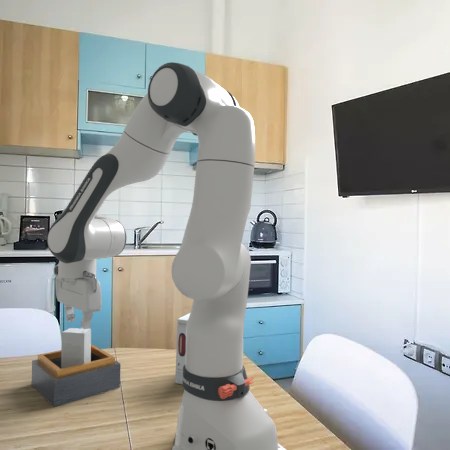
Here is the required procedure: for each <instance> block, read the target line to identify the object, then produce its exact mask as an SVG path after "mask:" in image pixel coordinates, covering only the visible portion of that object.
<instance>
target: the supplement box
mask: <svg viewBox="0 0 450 450" xmlns="http://www.w3.org/2000/svg"><path fill="white" fill-rule="evenodd" d="M190 313H191V312H188V313H187V314H185V315H183V316H181V317H179V318H177V322H176V323H177V325H176V328H177V329H176V348H175V349H176V350H175V351H176V352H175V354H176V355H175V381H174V384H178V385H179V384H180V385H182V373H183V366H184V365H185V357H186V325H187V321H188V319H189V316H190Z"/></svg>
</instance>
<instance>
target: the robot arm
mask: <svg viewBox="0 0 450 450" xmlns="http://www.w3.org/2000/svg"><path fill="white" fill-rule="evenodd" d="M186 132H190V133H192V135H194V136H196V137H197V140H198V148H197V157H196V158H197V159H196V168H195V178H194V185H193V187H194V188H193V197H192V203H191V209H190V212H189V216H188V220H187V223H186V227H185V231H184V234H183V237H182V241H181V245H180V248H179V249H178V251H177V253H176V255H175V256H174V258H173V260H172V265H171V278H172V282H173V283H174V285H175V287H176V289H177V290H178V291H179V292H180V293H181V294H182V295H183V296H185V297H186V298H189V299H190V300H193V301H192V306H191V310H190V312H189V313H190V316H189V319H188V321H187V325H186V357H185V365H184V366H183V373H182V384H181V385H182V388H183V393H182V398H181V402H180V405H179V409H178V415H177V425H176V430H175V431H176V432H175V433H176V434H175V438H174V444H173V446H172V447H171V450H287V448H285V447H284V446H282V444H280V443H279V441H278V431H277V426H276V424H275V421H274V420H273V419H272V417H270V415H269V412H268V410H267V409H266V408H264V407H263V406H262V405H261V404H260V403H259V401H258V400H257V398H256V397H255V396H254V394H253V393H252V392H251V390H250V389H251V388H250V385H252V384H254V381H252V380H254V376H252V377H248V375H247V371H246V368H245V366H244V362H243V361H244V332H245V331H244V330H245V318H246V310H247V305H248V296H249V288H250V287H249V285H250V275H251V265H252V258H251V254H250V252H249V250H248V248H247V247H246V246H245V245H244V244H243V243H242V242H243V237H244V233H245V228H246V225H247V224H246V223H247V220H248V217H249V213H250V210H251V208H252V207H251V206H252V205H251V204H252V203H251V202H252V196H253V186H254V185H253V184H254V173H255V164H256V134H255V132H256V131H255V125H254V120H253V117H252V115H251V114H250V112H248V111H247V110H245V109H244V108H242V107H240V105H239V102H238V101H237V99H236V98H235V97H234V95H233V94H231V92H229V91H228V90H226V89H224V88H223V87H221V85H219V84H218V83H216V82H215V81H214V80H213V79H212V78H211V77H208V76H207V75H205V74H203V73H201V72H199V71H196V70H194V69H193V68H192V67H190V66H189V65H186V64H183V63H179V62H166V63H163V64H162V65H160V66H159V67H158V68H157V69H156V70H155V72H154V73H153V74H152V76H151V78H150V80H149V83H148V88H147V93H146V94H145V95H144V96H143V97H142V99H140V102H139V103H138V104H137V106H136V107H135V108H134V110H133V112H132V114H131V116H130V117H129V119H128V121H127V123H126V125H125V127H124V129H123V132H122V134H121V135H120V137H119V139H117V142H116V143H115V144H114V145H113V147H112V148H111V149H110V150H108V152H106V154H104V155H101V156H100V157H99V158H98V159H97V160H96V161H95V162H94V163H93V164H92V166H91V168H90V169H89V171H88V172H87V173H86V175H85V176H84V179H83V180H82V182H81V183H80V184H79V187H77V190H76V192H75V193H74V195H73V196H72V198H71V199H70V201H69V202H68V204H67V206H66V208H64V209H63V210H62V213H61V214H60V215H59V216H58V218H57V219H55V221H54V222H53V223H52V225H51V226H50V228H49V230H48V232H47V236H46V245H47V247H48V250H49V251H50V253H51V254H52V255H53V257H55V258H56V259H57V260H58V264H56V265H55V266H54V267H53V275H54V276H55V279H54V280H55V281H54V282H55V296H56V299H57V302H59V303H61V304H63V307H64V308H63V309H64V313H65V320H66V322H68V323H72V322H75V321H76V314H75V313H74V312H75V311H74V309H76V310H79V311H81V313H82V314H81V315H82V320H81V321H80V329H91V321H92V319H93V316H94V313H96V312H100V311H101V310H102V306H103V301H102V299H103V297H102V286H101V283H100V280H99V279H97V277H96V276H97V264H98V263H97V260H99V259H106V258H108V259H109V258H113V257H117V256H119V255H121V253H122V252H123V251H124V250H125V247H126V244H127V231H126V229H125V227H124V225H123V224H122V223H121V222H120V221H119V220H116V219H112V218H111V217H107V216H105V215H103V214H101V213H99V210H100V208H101V207H102V206H103V204H104V202H105V200H106V199H107V198H108V197H109V196H110V195H111V194H112V193H114V192H115V191H117V190H118V189H121V188H124V187H126V186H128V185H132V184H136V183H141V182H146V181H149V180H151V179H153V178H155V177H156V176H157V175H158V174H159V173H160V171H161V170H162V169H163V168H164V166H165V164H166V162H167V161H168V158H169V156H170V154H171V152H172V151H173V149H174V145H175V143H176V141H177V140H178V138H179V137H180V136H181V134H183V133H186Z"/></svg>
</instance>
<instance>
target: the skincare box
mask: <svg viewBox="0 0 450 450" xmlns="http://www.w3.org/2000/svg"><path fill="white" fill-rule="evenodd" d="M91 344H92V329H91V328H88V329H83V328H81V327H80V328H78V327H77V328H76V327H68V328H66V330H63V331H61V349H60V350H61V369H62V368H66V367H70V366H75V365H79V364H83V363H87V362H91Z"/></svg>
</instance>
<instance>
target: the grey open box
mask: <svg viewBox="0 0 450 450" xmlns="http://www.w3.org/2000/svg"><path fill="white" fill-rule="evenodd" d="M31 385H32V387H33V388H35V390H37V391H38V392H39V394H40V395H41V396H42V397H43V398H44V399H45V400H47V402H49V404H50V405H51V406H52V407H53V408H56V407H60V406H64V405H66V404H69V403H73V402H76V401H79V400H83V399H85V398H89V397H93V396H96V395H99V394H102V393H105V392H108V391H109V392H110V391H113V390H115V389H118V388H119V389H120V388H121V363H120V362H119V361H117V360H116V357H115V356H114V355H111V354H110V353H108V352H107V351H105V350H103V349H101V348H99V347H97V346H96V345H94V344H92V343H91V362H87V363H83V364H79V365H75V366H70V367H66V368H62V369H61V349H60V350H55V351H50V352H45V353H41V354H37V358H36V359H35V360H32V361H31Z"/></svg>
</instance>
